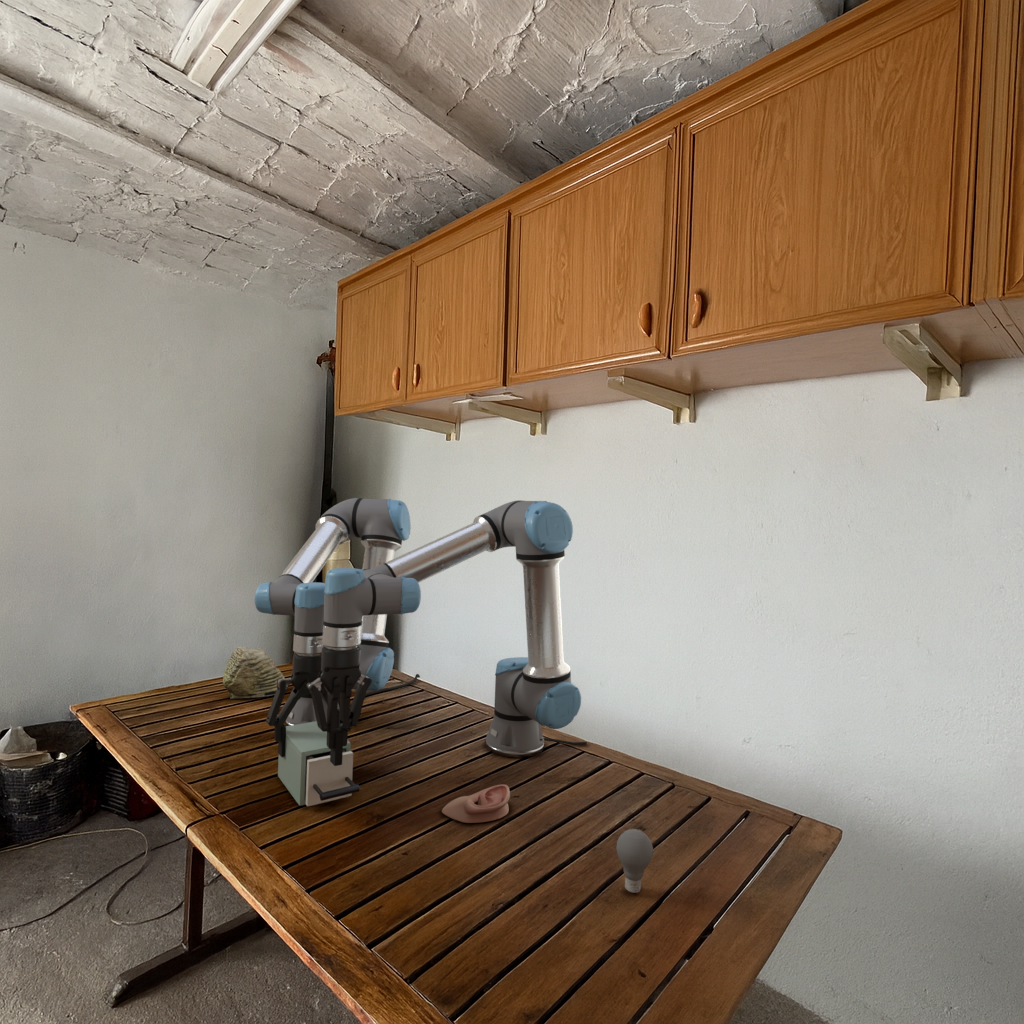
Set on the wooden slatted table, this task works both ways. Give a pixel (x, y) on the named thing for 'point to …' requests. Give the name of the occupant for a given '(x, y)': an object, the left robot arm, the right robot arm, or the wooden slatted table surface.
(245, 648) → the fossil
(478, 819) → the anatomical model
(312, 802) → the drawer
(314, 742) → the cabinet
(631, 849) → the light bulb
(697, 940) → the wooden slatted table surface
